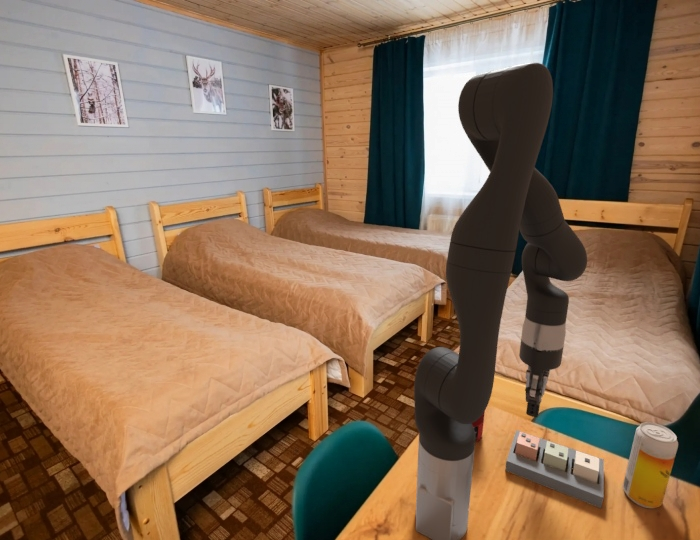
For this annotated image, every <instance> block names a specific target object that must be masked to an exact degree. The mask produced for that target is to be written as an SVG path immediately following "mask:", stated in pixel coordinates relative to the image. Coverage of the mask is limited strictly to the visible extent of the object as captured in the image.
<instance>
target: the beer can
mask: <svg viewBox="0 0 700 540" xmlns="http://www.w3.org/2000/svg"><path fill="white" fill-rule="evenodd" d="M677 438H678V437H677V435H676V433H674V432H673V431H672V429H670V428H669V427H667V426H664V425H662V424H658V423H656V422H651V421H645V422H644V421H643V422H641V423H640V424H639V426H638V427H636V429H635V434H634V437H633V440H632V441H633V442H632V446H631V450H630V453H629V454H630V455H629V458H628V462H627V467H626V472H625V476H624V479H623V484H622V488H623V491H624V492H625V494H626V496H627V498H629V499H630V500H631V501H632V502H633V503H635V504H636V505H638V506H640V507H642V508H645V509H655V508H659V507H661V506H662V504H663V502H664V500H665V499H664V498H665V495H666V491H667V488H668V483H669V480H670V476H671V474H672V469H673V466H674V463H675V458H676V454H677V452H678V448H679V442H678V439H677Z"/></svg>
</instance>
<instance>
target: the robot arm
mask: <svg viewBox="0 0 700 540" xmlns="http://www.w3.org/2000/svg"><path fill="white" fill-rule="evenodd" d="M553 97H554V85H553V79H552V75H551V72H550V71H549V69H548V67H547V66H546V65H545V64H543V63H540V62H528V63H522V64H516V65H513V66H508V67H503V68H499V69H495V70H491V71H486V72H482V73H480V74H477V75H474V76H473V77H471V78H470V79H469V80H467V82H466V83H465V84H464V85H463V87H462V89H461V91H460V95H459V97H458V103H457V104H458V105H457V106H458V110H457V111H458V117H459V121H460V124H461V126H462V129H463V131H464V133H465V135H466V136H467V139H468V140H469V141H470V143H471V144H472V146H473V148H474V149H475V150H476V152H477V153H478V155H479V157H480V158H481V160H482V161H483V163H484V165H485V166H486V168H487V170H488V171H489V175H487V176H488V177H487V178H486V180H485V182H484V184H483V185H482V187H481V188H480V189H479V191H478V192H477V193H476V194H475V195H474V197H473V198H472V200H470V202H469V204H468V205H467V206H466V207H465V209H464V210H463V211H462V213H461V214H460V216H459V217H458V219H457V221H456V223H455V224H454V227H453V228H452V232H451V234H450V235H451V236H450V242H449V246H448V251H447V258H446V263H445V278H446V284H447V288H448V291H449V295H450V299H451V303H452V305H453V308H454V313H455V316H456V319H457V322H458V328H459V349H458V350H459V351H458V353H457V352H456V351H454V350H452V349H450V348H447V347H443V346H438V347H434V348H432V349H430V350H427V352H426V353H425V354H424V355H423V356H422V358H420V359H421V360H420V361H419V363H418V365H417V369H416V371H415V376H414V384H413V385H414V389H413V390H414V391H413V394H414V399H413V400H414V422H415V426H416V429H417V431H418V447H417V448H418V449H417V473H416V474H417V475H416V492H415V493H416V496H415V497H416V499H415V531H416V532H417V533H419V534H421V535H423V536H425V537H426V538H429V539H431V540H461V539H462V538H464V536H465V535H466V533H467V530H468V524H469V523H468V522H469V521H468V520H469V514H470V513H469V511H470V501H471V492H472V491H471V490H472V482H473V480H472V478H473V471H474V470H473V469H474V460H475V450H476V449H475V448H476V442H475V439H476V436H475V430H474V428H473V426H472V424H471V423H473V422H475V421H477V420H478V419H479V418H480V417H481V416H482V414H483V413H484V411H486V409H487V408H488V405H489V402H490V400H491V397H492V393H493V389H494V382H495V381H494V380H495V373H496V366H497V365H496V363H497V352H498V343H499V334H500V330H501V329H500V328H501V322H502V321H501V320H502V318H503V317H502V316H503V310H504V306H505V301H506V296H507V291H508V288H509V284H510V279H511V275H512V270H513V265H514V261H515V257H516V256H515V255H516V250H517V246H518V239H519V234H521V236H522V238H523V240H525V241H526V242H527V243H526V245H525V246H524V249H523V250H522V254H521V267H522V272H523V273H522V274H523V278H524V283H525V290H526V295H527V298H526V299H527V300H526V307H525V315H524V319H523V322H522V323H523V324H522V329H521V336H520V337H521V339H520V345H519V346H520V347H519V355H518V356H519V359H520V360H521V362H523V363H524V364H525V365H527V369H526V372H525V379H526V380H525V381H526V382H525V389H524V391H525V402H526V412H525V413H526V415H527V416H529V417H533V418H538V417H539V413H540V406H541V403H542V398H543V396H544V395H545V391H546V388H547V383H548V381H549V375H550V371H551V370H555V369H558V368H559V367H561V365H562V360H563V353H564V347H565V342H566V341H565V339H566V333H567V331H566V330H567V327H566V325H567V316H568V310H569V305H570V304H569V303H570V297H569V295H568V294H567V292H565V291H564V290H563V289H561V288H559V287H557V286H556V285H554V284H553V283H552V282H551V280H550V279H553V280H554V279H555V280H557V281H563V282H573V281H575V280H577V279H579V278H580V277H581V276H583V274H584V273H585V271H586V269H587V265H588V253H587V251H586V248H585V246H584V244H583V242H582V241H581V239H580V238H579V237H578V235H577V234H576V233H575V232H574V229H573V228H572V227H571V226H570V225H569V224H568V223H567V221H566V220H565V217H564V213H563V210H562V205H561V203H560V200H559V199H560V198H559V196H558V194H557V192H556V190H555V189H554V187H553V185H552V184H551V182H550V181H549V180H548V179H547V178H546V177H545V176H544V175H543V174H542V173H541V172H540V171H539V170H538V169H537V168H536V167H535V166H536V163H537V160H538V156H539V153H540V151H541V148H542V147H541V146H542V144H543V140H544V137H545V135H546V131H547V127H548V124H549V119H550V116H551V112H552V105H553V99H554V98H553ZM484 414H485V413H484Z"/></svg>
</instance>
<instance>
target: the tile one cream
mask: <svg viewBox="0 0 700 540" xmlns="http://www.w3.org/2000/svg"><path fill="white" fill-rule="evenodd" d="M579 451H580V450H577V451H576V454H575V460H574V468H573V469H572V470H573V471H572V475H575V476H578V477H580V478H583V479H586V480H588V481H591V482H594V483H597V479H598V474H599V458H600V457H598V456H595V455H592V454H589V453H586V452H583V451H580V452H579ZM582 452H583V453H582ZM585 453H586V454H585ZM588 454H589V455H588ZM591 455H592V456H591ZM594 456H595V457H594ZM597 457H598V458H597Z"/></svg>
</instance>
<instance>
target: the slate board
mask: <svg viewBox="0 0 700 540" xmlns="http://www.w3.org/2000/svg"><path fill="white" fill-rule="evenodd" d="M520 432H523V431H522V430H518V429H516V430H515V433H514V436H513V440H512V442H511V445H510V448H509V452H508V454H507V458H506V460H505V461H506V462H505V471H506V472H509V473H511V474H513V475H516V476H518V477H521V478H523V479H524V480H525V479H526V480H528V481H530V482H533V483H536V484H538V485H541V486H544V487H547V488H549V489H552V490H554V491H556V492H558V493H561V494H564V495H566V496H569V497H572V498H574V499H577V500H579V501H582V502H583V503H586V504H589V505H590V506H591V505H592V506H595V507H596V508H600V509H602V507H603V502H604V501H603V500H604V481H605V480H604V478H605V477H604V472H605V471H604V468H605V467H604V466H605V465H604V463H605V462H604V461H605V459H603V458H601V457H599V456H595V455H592V454H589V453H586V452H583V451H580V450H576V449H574V448H571V447H568V446H566V445H562V444H559V443H556V442H553V441H550V440H548V439H544V438H541V437H538V436H536V435H532V434H530V433H526V432H523V433H526V434H529V435H532V436H535V437H538V438H540V441H539V447H538V452H537V457H538V459H537V460H536V461H534V460H532V459H529V458H526V457H523V456H521V455H518V454H515V451H516V443H517V439H518V436H519V433H520ZM547 441H549V442H552V443H555V444H558V445H561V446H564V447H567V448H568V456H567V463H566V471H565V472H564V471H562V470H559V469H556V468H553V467H551V466H548V465H545V464H543V459H544V454H545V449H546V444H547ZM576 451H579V452H582V453H585V454H588V455H591V456H594V457H597V458H599V474H598V479H597V483H594V482H592V481H589V480H586V479H583V478H581V477H578V476H575V475H573V473H572V470H573V468H574V460H575V454H576Z"/></svg>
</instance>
